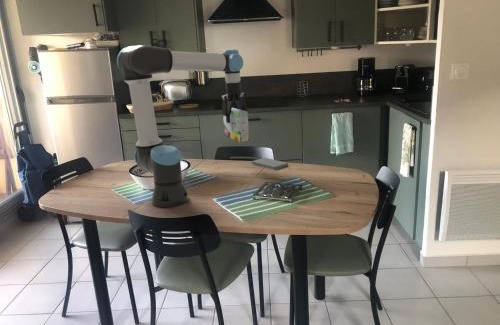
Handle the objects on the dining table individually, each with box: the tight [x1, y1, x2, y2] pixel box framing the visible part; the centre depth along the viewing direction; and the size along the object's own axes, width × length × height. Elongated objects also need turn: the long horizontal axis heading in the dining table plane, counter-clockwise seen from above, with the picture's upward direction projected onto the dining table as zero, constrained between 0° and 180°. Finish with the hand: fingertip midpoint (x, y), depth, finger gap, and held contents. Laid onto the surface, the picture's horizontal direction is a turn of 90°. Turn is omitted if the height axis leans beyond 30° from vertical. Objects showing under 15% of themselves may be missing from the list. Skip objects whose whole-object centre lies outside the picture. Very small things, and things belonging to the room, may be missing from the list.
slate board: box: [251, 157, 289, 171], centre depth 219 cm, size 18×10×2 cm, turn 41°
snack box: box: [222, 107, 250, 144], centre depth 204 cm, size 21×6×15 cm, turn 25°
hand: (235, 127), depth 204 cm, fingers closed on snack box, 7 cm apart
